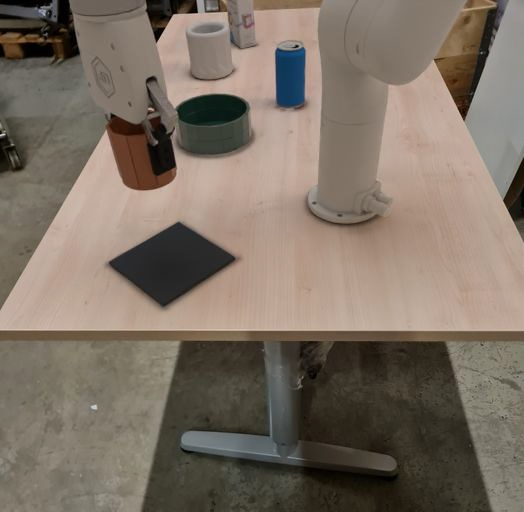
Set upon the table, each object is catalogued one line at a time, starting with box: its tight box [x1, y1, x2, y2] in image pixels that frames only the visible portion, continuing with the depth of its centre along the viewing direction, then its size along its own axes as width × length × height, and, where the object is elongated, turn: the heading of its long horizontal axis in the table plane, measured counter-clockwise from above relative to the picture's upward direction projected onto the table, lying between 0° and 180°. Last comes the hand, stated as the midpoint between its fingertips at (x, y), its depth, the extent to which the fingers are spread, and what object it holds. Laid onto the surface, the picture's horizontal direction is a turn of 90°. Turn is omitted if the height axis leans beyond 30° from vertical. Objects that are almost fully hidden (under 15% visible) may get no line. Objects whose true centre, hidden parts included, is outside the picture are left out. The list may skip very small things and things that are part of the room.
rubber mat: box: [108, 221, 236, 308], centre depth 74 cm, size 14×14×1 cm
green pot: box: [174, 93, 253, 156], centre depth 98 cm, size 15×15×6 cm
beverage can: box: [274, 39, 307, 109], centre depth 104 cm, size 6×6×12 cm
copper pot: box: [105, 109, 178, 192], centre depth 61 cm, size 7×8×7 cm
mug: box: [185, 20, 234, 80], centre depth 120 cm, size 14×11×10 cm
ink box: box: [225, 0, 257, 50], centre depth 132 cm, size 9×5×12 cm, turn 25°
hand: (146, 159), depth 62 cm, fingers closed on copper pot, 7 cm apart
